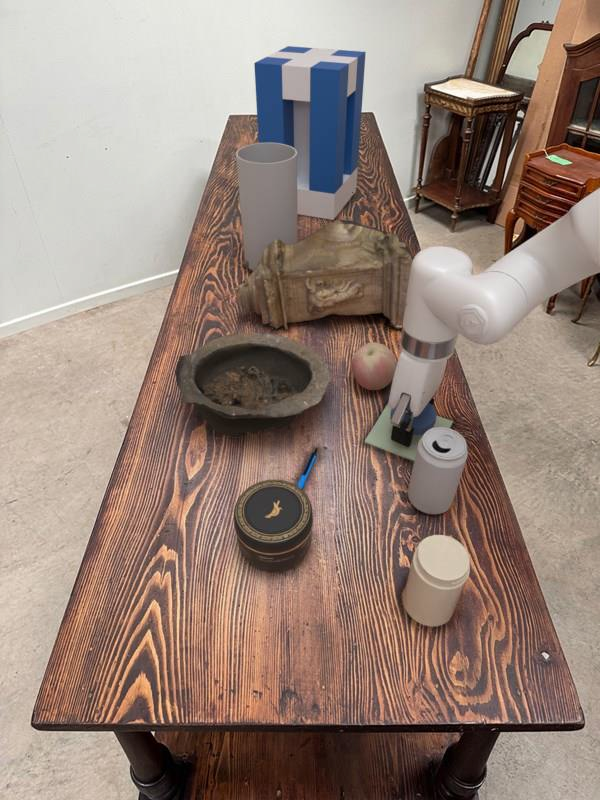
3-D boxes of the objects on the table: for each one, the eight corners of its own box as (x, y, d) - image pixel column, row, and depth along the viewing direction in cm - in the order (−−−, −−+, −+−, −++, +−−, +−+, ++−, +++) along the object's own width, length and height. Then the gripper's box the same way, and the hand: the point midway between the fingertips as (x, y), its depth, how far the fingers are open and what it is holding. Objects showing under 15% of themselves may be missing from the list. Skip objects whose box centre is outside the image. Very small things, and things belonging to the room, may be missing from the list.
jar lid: (381, 422, 84) (382, 415, 83) (404, 398, 88) (405, 390, 87) (421, 442, 81) (422, 434, 80) (443, 416, 85) (444, 408, 84)
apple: (358, 365, 99) (361, 330, 94) (398, 376, 97) (404, 340, 92) (343, 392, 94) (346, 356, 88) (385, 404, 92) (391, 368, 86)
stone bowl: (177, 463, 82) (166, 417, 76) (190, 368, 101) (182, 326, 95) (338, 451, 83) (340, 404, 77) (320, 360, 102) (321, 317, 97)
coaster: (452, 422, 88) (453, 421, 88) (431, 468, 81) (431, 466, 81) (389, 401, 92) (390, 399, 92) (364, 442, 85) (364, 440, 85)
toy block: (356, 190, 159) (365, 51, 135) (333, 219, 144) (339, 70, 121) (290, 181, 164) (288, 46, 140) (262, 208, 150) (254, 62, 126)
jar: (313, 513, 75) (314, 479, 70) (310, 579, 68) (311, 546, 63) (243, 510, 76) (238, 475, 71) (232, 575, 69) (226, 542, 63)
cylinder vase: (255, 247, 133) (248, 140, 116) (303, 253, 131) (304, 145, 114) (237, 272, 124) (227, 160, 107) (289, 279, 122) (287, 166, 105)
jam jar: (460, 592, 67) (479, 546, 60) (445, 636, 63) (463, 592, 56) (413, 570, 69) (425, 523, 62) (395, 611, 65) (406, 566, 58)
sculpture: (424, 238, 93) (223, 256, 94) (418, 334, 106) (242, 347, 108) (407, 198, 106) (232, 214, 108) (404, 287, 119) (248, 300, 121)
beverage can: (398, 500, 77) (409, 444, 69) (421, 474, 81) (435, 417, 72) (437, 525, 74) (454, 469, 66) (460, 496, 77) (479, 440, 69)
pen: (319, 451, 84) (319, 446, 83) (274, 554, 71) (274, 549, 70) (313, 450, 84) (313, 445, 84) (268, 552, 71) (267, 547, 70)
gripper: (428, 300, 81) (412, 389, 93) (374, 361, 70) (364, 452, 82) (477, 316, 78) (453, 405, 90) (428, 382, 67) (409, 473, 79)
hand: (411, 427), depth 86 cm, fingers closed on jar lid, 6 cm apart
